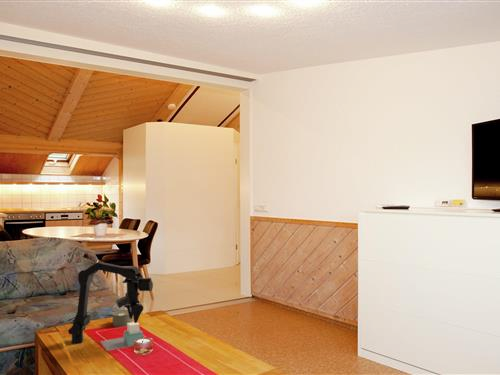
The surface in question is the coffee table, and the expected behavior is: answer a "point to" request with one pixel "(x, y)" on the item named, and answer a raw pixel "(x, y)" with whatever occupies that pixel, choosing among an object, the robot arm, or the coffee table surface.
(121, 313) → the can
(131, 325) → the off-white block
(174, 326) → the coffee table surface
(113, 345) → the plate
